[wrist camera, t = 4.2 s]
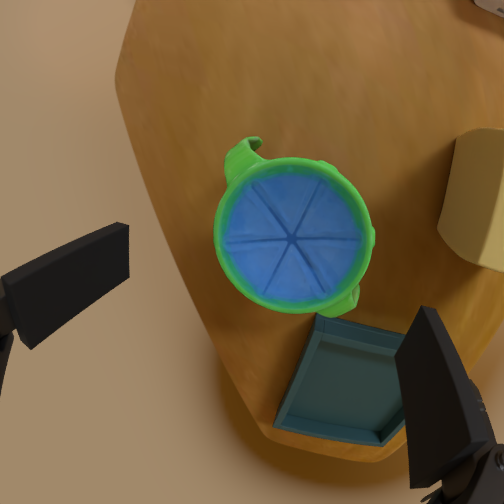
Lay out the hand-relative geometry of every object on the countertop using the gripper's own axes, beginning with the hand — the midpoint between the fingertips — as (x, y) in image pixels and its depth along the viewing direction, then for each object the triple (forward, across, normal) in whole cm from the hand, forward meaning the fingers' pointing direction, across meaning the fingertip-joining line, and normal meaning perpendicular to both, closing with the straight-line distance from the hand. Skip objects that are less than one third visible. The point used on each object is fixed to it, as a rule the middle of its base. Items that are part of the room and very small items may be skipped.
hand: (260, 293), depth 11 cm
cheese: (+17, +18, +7) cm, 26 cm away
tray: (+17, +13, -20) cm, 29 cm away
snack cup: (+17, 0, 0) cm, 17 cm away
